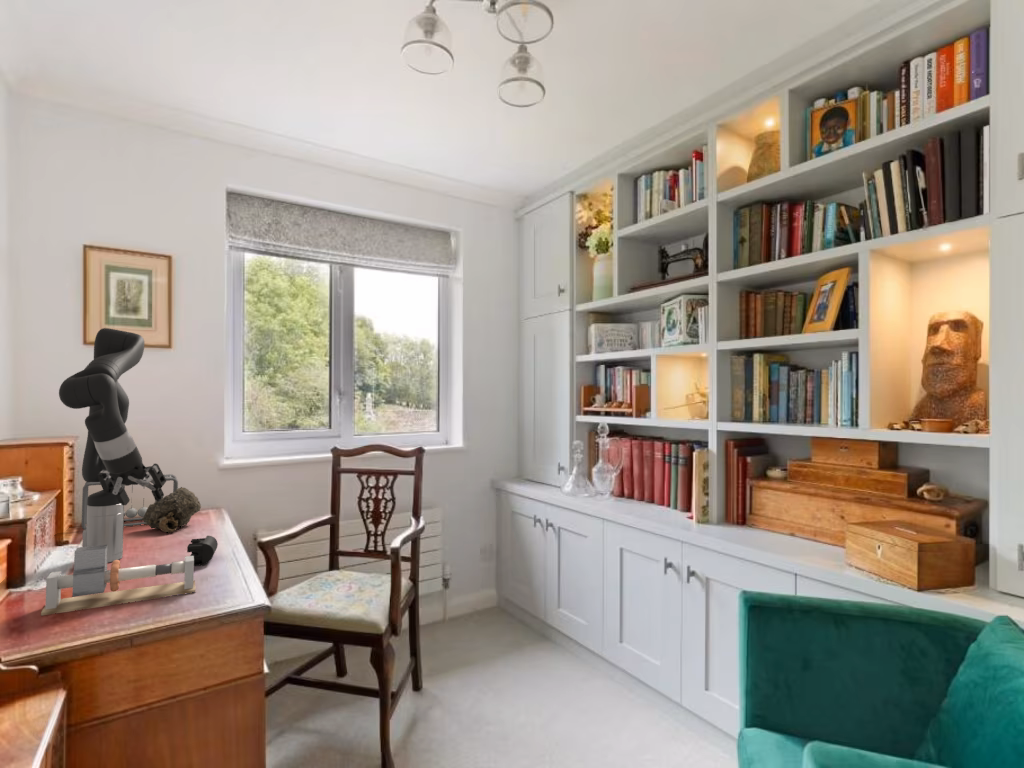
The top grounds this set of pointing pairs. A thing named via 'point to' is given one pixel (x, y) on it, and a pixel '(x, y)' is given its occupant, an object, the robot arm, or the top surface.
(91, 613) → the top surface
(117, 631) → the top surface
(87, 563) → the grooved slider block
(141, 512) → the newton's cradle
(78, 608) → the base board
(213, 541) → the end cap
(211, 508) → the top surface
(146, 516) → the rock
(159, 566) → the rod
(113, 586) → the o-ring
